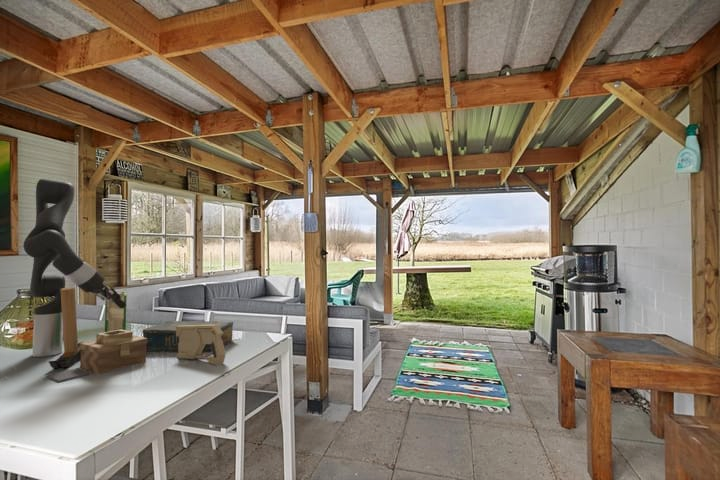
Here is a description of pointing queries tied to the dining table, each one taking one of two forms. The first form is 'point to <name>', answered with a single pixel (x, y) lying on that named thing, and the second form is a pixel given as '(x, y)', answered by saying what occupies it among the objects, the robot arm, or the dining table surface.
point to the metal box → (167, 341)
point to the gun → (200, 342)
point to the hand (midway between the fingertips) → (121, 306)
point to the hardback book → (116, 323)
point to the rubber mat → (68, 374)
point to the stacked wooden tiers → (113, 351)
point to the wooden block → (115, 310)
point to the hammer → (68, 331)
